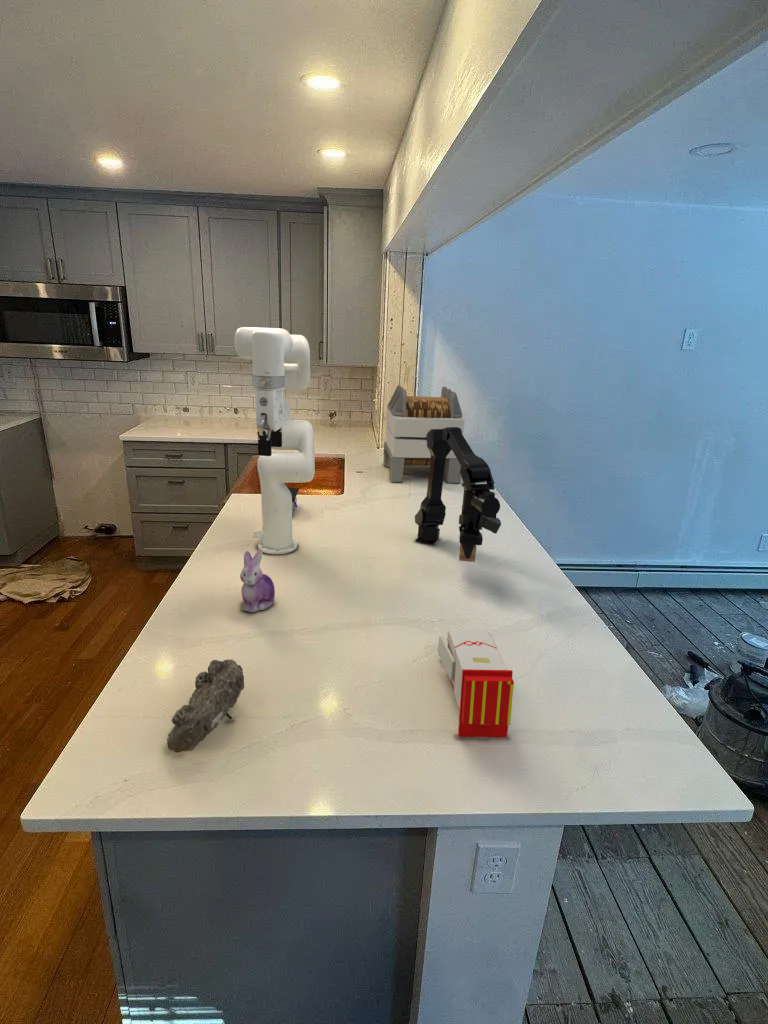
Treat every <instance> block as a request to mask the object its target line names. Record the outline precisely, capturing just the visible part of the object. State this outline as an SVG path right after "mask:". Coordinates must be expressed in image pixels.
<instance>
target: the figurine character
mask: <svg viewBox="0 0 768 1024" xmlns="http://www.w3.org/2000/svg"><path fill="white" fill-rule="evenodd" d="M286 487H287V488H288V489H289V491H290V492H291V495H292V512H294V511H295V509H296V508H297V507H298V504H297V502H298V498H297V495H298V493H299V491H300V488H299V487H291V486H286Z"/></svg>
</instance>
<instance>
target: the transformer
mask: <svg viewBox="0 0 768 1024" xmlns="http://www.w3.org/2000/svg"><path fill="white" fill-rule="evenodd" d="M440 393H441V394H440V396H415V395H414V396H413V395H412V396H411V395H407V394H408V393H407V390H406V389H404V388H403V387H402V385H399V384H398V385H397V386H396V388H395V390H394V392H393V394H392V395H391V398H390V400H389V402H388V404H387V405H386V413H385V414H386V415H385V423H386V428H385V438H384V442H383V466H384V467H388V468H389V475H388V476H389V477H388V478H389V480H390V482H391V483H402V482H403V475H404V469H405V466H406V467H407V466H411V467H412V466H413V467H415V466H416V467H417V466H418V467H430V460H431V453H430V451H429V449H428V447H427V440H426V436H427V433H428V432H429V431H430V430H431V429H443V428H446V427H458V428H461V430H462V435H463V436H464V431H465V430H464V429H465V419H464V418H463V411H462V408H461V405H460V402H459V398H458V395H457V392H455V391H453V390H452V389H451V388H447V386H442V387H441V392H440ZM460 468H461V465H460V463H459V461H458V460H457V458H456V456H455V454H454V453H453V451H452V450H451V451H450V453H449V454H448V455H447V457H446V461H445V469H444V478H443V479H445V481H446V482H447V483H449V484H455V483H456V484H459V483H461V474H460Z"/></svg>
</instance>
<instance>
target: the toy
mask: <svg viewBox="0 0 768 1024" xmlns="http://www.w3.org/2000/svg"><path fill="white" fill-rule="evenodd" d="M446 640H447V643H446V641H445V639H444V636H443V635H442V634H439V637H438V646H437V656H438V657H439V659H440V661H441V663H442V666H443V668H444V670H445V672H446V674H447V677H448V679H449V681H450V684H451V687H452V690H453V693H454V697H455V701H456V705H457V708H458V711H459V714H458V715H459V716H458V730H457V731H458V732H457V737H458V738H508V731H509V726H510V725H511V717H512V707H513V697H514V696H513V695H514V684H515V680H514V679H513V673H514V671H513V670H512V669H508V667H507V665H506V662H505V661H504V659H503V658H502V655H501V653H500V651H499V649H498V647H497V643H496V639H495V637H494V635H493V634H491V632H490V631H489V629H467V628H466V629H465V628H463V629H461V628H460V629H459V628H448V630H447V639H446Z"/></svg>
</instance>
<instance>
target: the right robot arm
mask: <svg viewBox="0 0 768 1024" xmlns="http://www.w3.org/2000/svg"><path fill="white" fill-rule="evenodd" d="M426 440H427V447H428V449H429V451H430V453H431V460H430V466H429V470H428V478H427V490H426V496H425V497H424V498H423V500H422V501H421V502H420V506H419V510H418V511H417V513H416V514H415V515H414V523H415V524H416V525H417V526H418V527H417V538H416V539H415V542H417V543H421V544H425V545H430V546H435V544H436V543H437V542H438V541H439V540H440V532H441V528H439V526H443V525H444V522H445V517H446V516H447V515H446V510H447V507H446V505H445V504H444V502H443V500H442V494H443V486H444V479H445V478H444V469H445V461H446V457H447V455H448V454H449V453H450V451H451V450H452V451H453V453H454V454H455V456H456V458H457V460H458V461H459V463H460V465H461V468H460V478H461V480H462V483H461V487H463V494H462V495H463V496H462V504H461V513H460V514H459V516H458V525H459V526H458V531H459V537H458V538H459V544H460V543H461V545H462V548H463V551H464V554H465V557H466V559H470V556H471V554H472V551H473V548H474V546H475V545H476V546H483V541H484V538H483V533H481V531H483V529H485V530H487V531H489V532H491V533H492V534H496V535H497V533H498V531H499V529H500V528H501V525H502V521H501V520H500V518H499V517H497V515H498V513H499V512H500V510H501V503H500V500H499V499H498V498H497V497H496V493H495V492H494V490H495V481H494V477H493V475H492V471H491V468H490V466H489V464H488V463H487V462H486V461H485V459H484V458H483V457H480V456H478V455H476V454H475V452H474V451H473V449H472V447H471V446H470V444H469V443H468V441H467V440H466V438H465V436H464V434H463V435H462V430H461V428H458V427H446V428H443V429H431V430H430V431H429V432H428V433H427V436H426ZM480 530H481V531H480Z"/></svg>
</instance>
